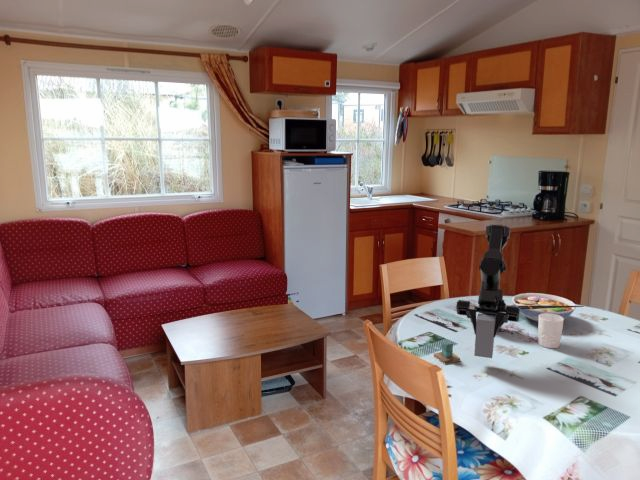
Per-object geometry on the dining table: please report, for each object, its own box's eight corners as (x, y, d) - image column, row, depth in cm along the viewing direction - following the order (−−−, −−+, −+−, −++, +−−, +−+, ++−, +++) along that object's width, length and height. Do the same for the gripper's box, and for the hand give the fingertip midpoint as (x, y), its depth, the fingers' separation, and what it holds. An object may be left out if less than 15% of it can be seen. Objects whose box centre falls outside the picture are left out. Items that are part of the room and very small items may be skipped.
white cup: (561, 342, 176) (563, 315, 174) (561, 350, 169) (564, 322, 167) (536, 338, 180) (539, 311, 177) (535, 346, 173) (538, 319, 170)
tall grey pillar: (476, 349, 161) (478, 313, 159) (493, 351, 159) (495, 315, 157) (474, 355, 157) (476, 319, 154) (492, 358, 155) (494, 321, 152)
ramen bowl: (558, 309, 209) (560, 290, 207) (589, 330, 186) (591, 309, 185) (499, 310, 208) (500, 291, 206) (522, 332, 185) (524, 310, 184)
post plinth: (449, 353, 168) (450, 338, 167) (460, 361, 162) (461, 345, 161) (433, 356, 166) (434, 340, 165) (444, 363, 160) (444, 347, 159)
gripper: (458, 275, 160) (452, 320, 152) (521, 281, 153) (518, 328, 145) (460, 292, 169) (454, 335, 161) (520, 298, 162) (516, 343, 154)
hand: (484, 335), depth 155 cm, fingers closed on tall grey pillar, 5 cm apart
